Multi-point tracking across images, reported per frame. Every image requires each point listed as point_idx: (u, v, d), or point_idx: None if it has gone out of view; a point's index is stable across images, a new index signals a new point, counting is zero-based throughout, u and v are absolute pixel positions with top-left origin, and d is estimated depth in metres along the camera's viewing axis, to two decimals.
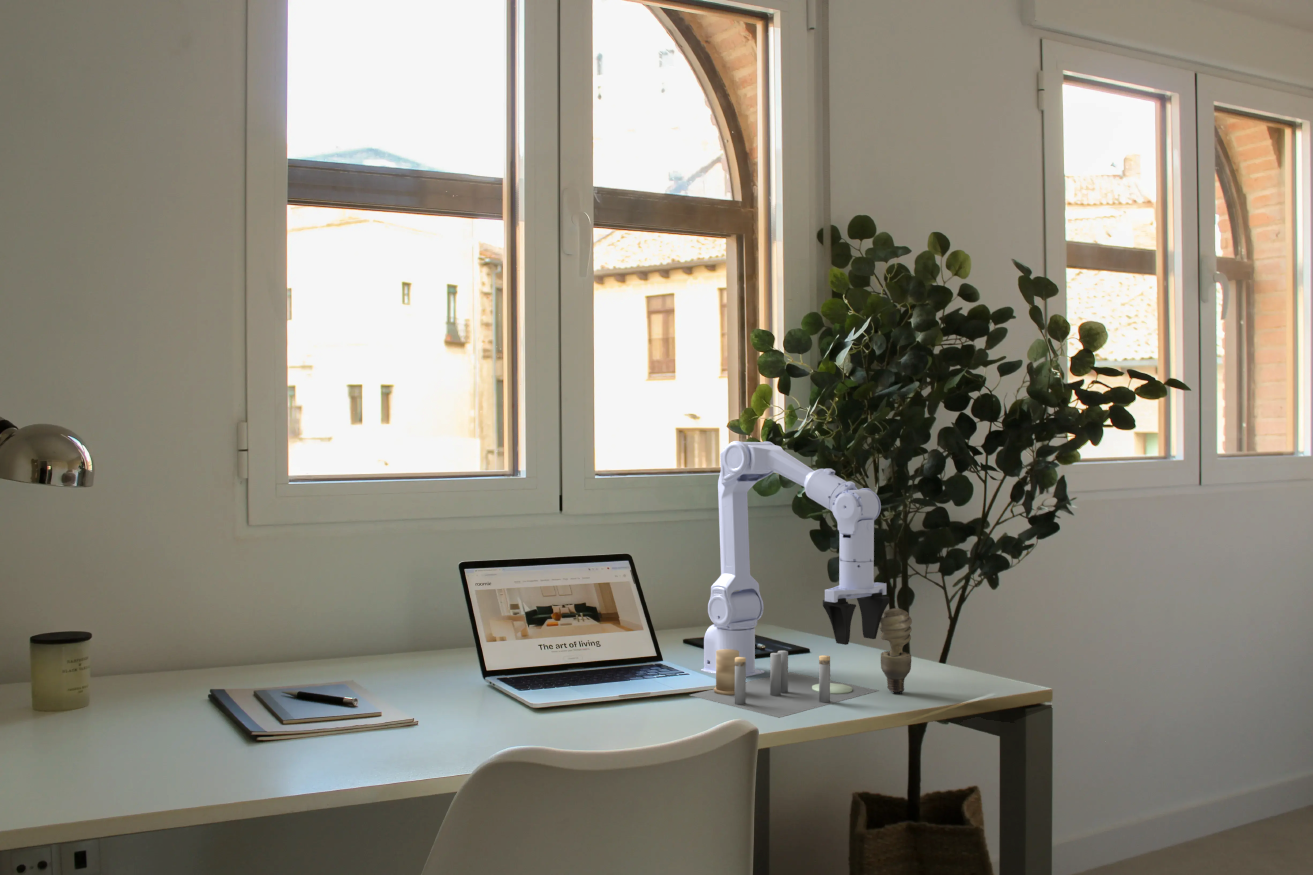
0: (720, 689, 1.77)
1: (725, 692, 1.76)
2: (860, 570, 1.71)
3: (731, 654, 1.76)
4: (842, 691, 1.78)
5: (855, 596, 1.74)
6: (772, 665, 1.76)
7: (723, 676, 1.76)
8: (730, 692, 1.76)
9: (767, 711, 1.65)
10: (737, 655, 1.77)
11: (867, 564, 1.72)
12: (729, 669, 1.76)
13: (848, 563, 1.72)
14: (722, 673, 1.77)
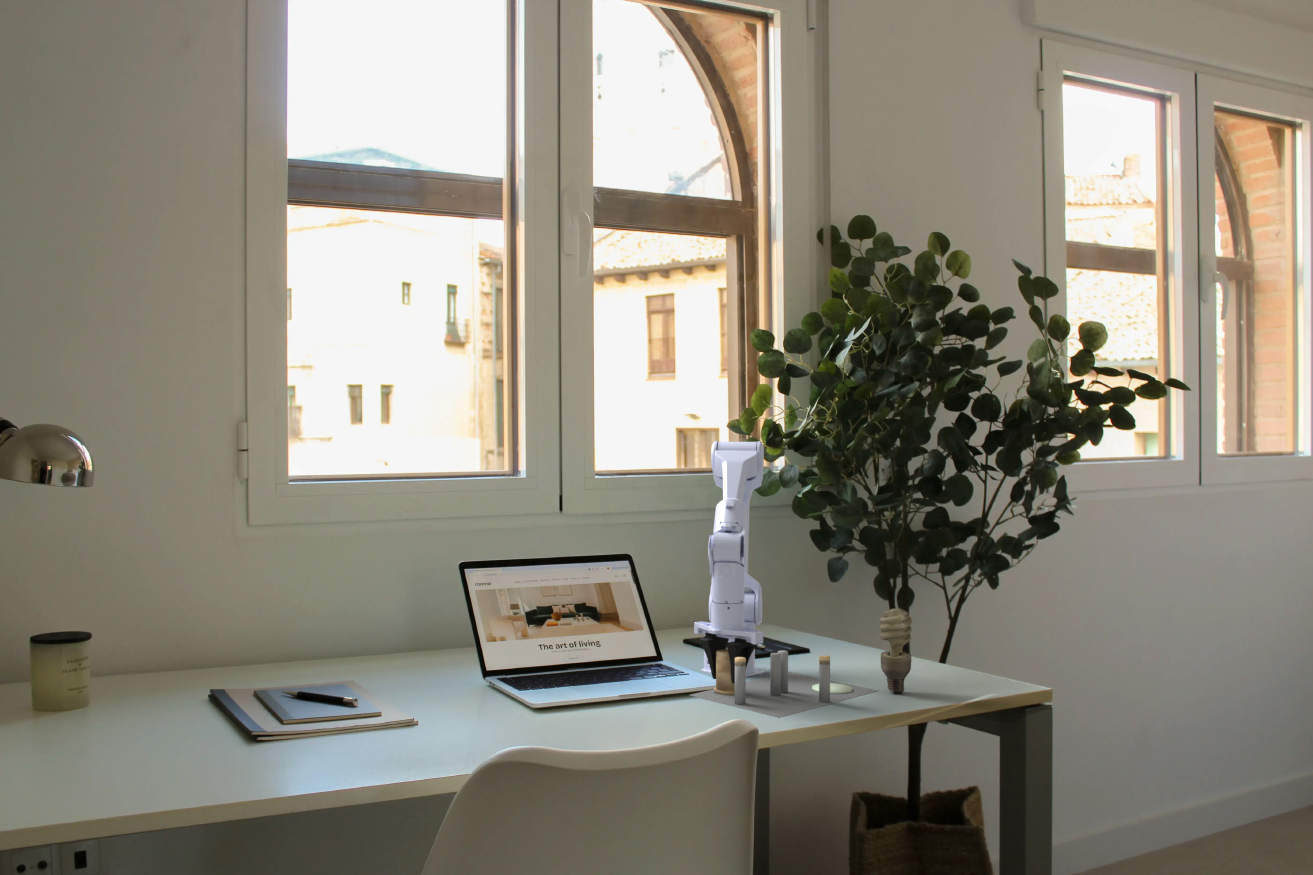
0: (720, 689, 1.77)
1: (725, 692, 1.76)
2: (711, 609, 1.78)
3: None
4: (842, 691, 1.78)
5: (723, 635, 1.79)
6: (772, 665, 1.76)
7: (723, 676, 1.76)
8: (730, 692, 1.76)
9: (767, 711, 1.65)
10: None
11: (714, 605, 1.77)
12: (729, 669, 1.76)
13: (714, 601, 1.80)
14: (722, 673, 1.77)
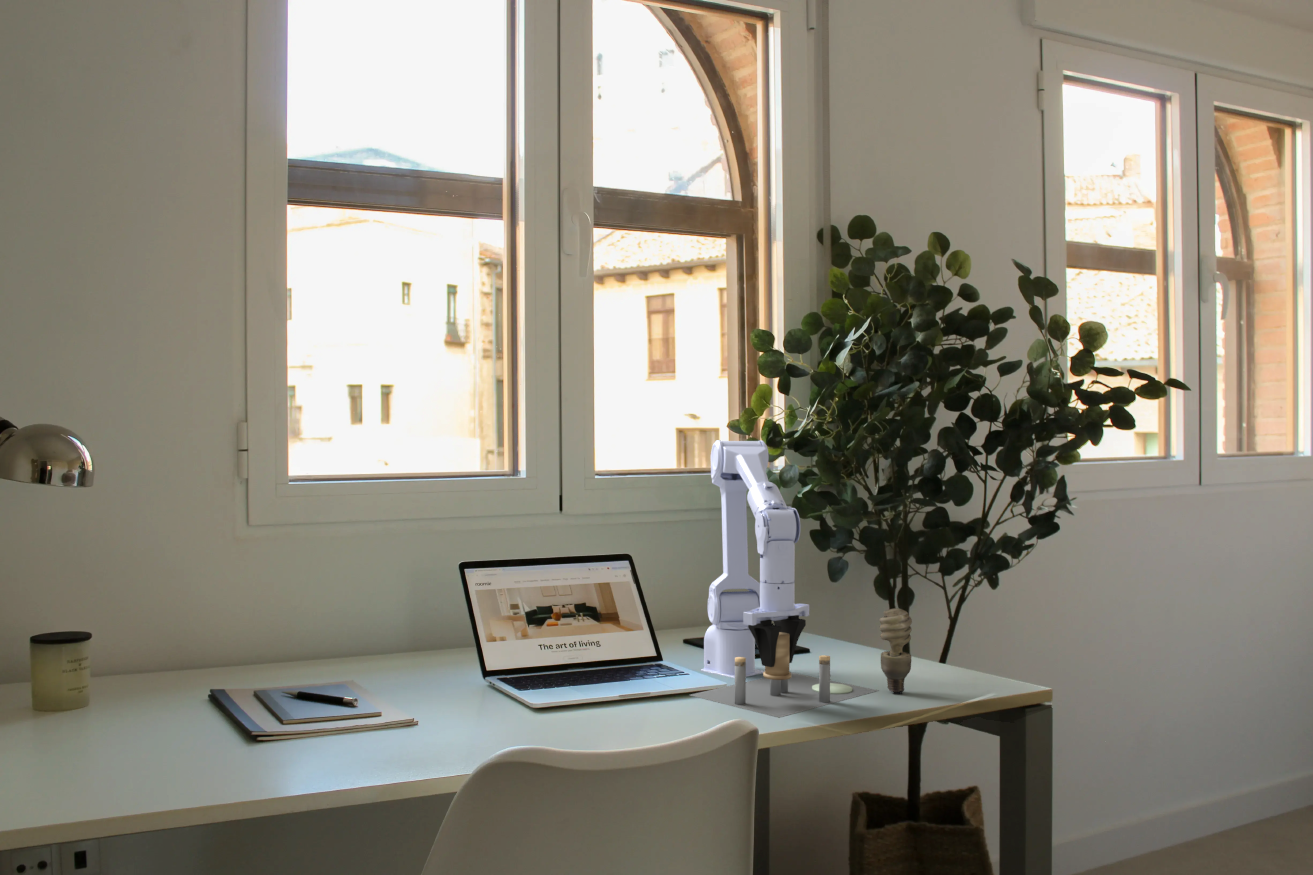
0: (787, 673, 1.69)
1: None
2: (780, 592, 1.68)
3: None
4: (842, 691, 1.78)
5: (775, 618, 1.70)
6: None
7: None
8: (790, 673, 1.71)
9: (767, 711, 1.65)
10: None
11: (787, 586, 1.68)
12: None
13: (768, 585, 1.68)
14: (788, 656, 1.69)
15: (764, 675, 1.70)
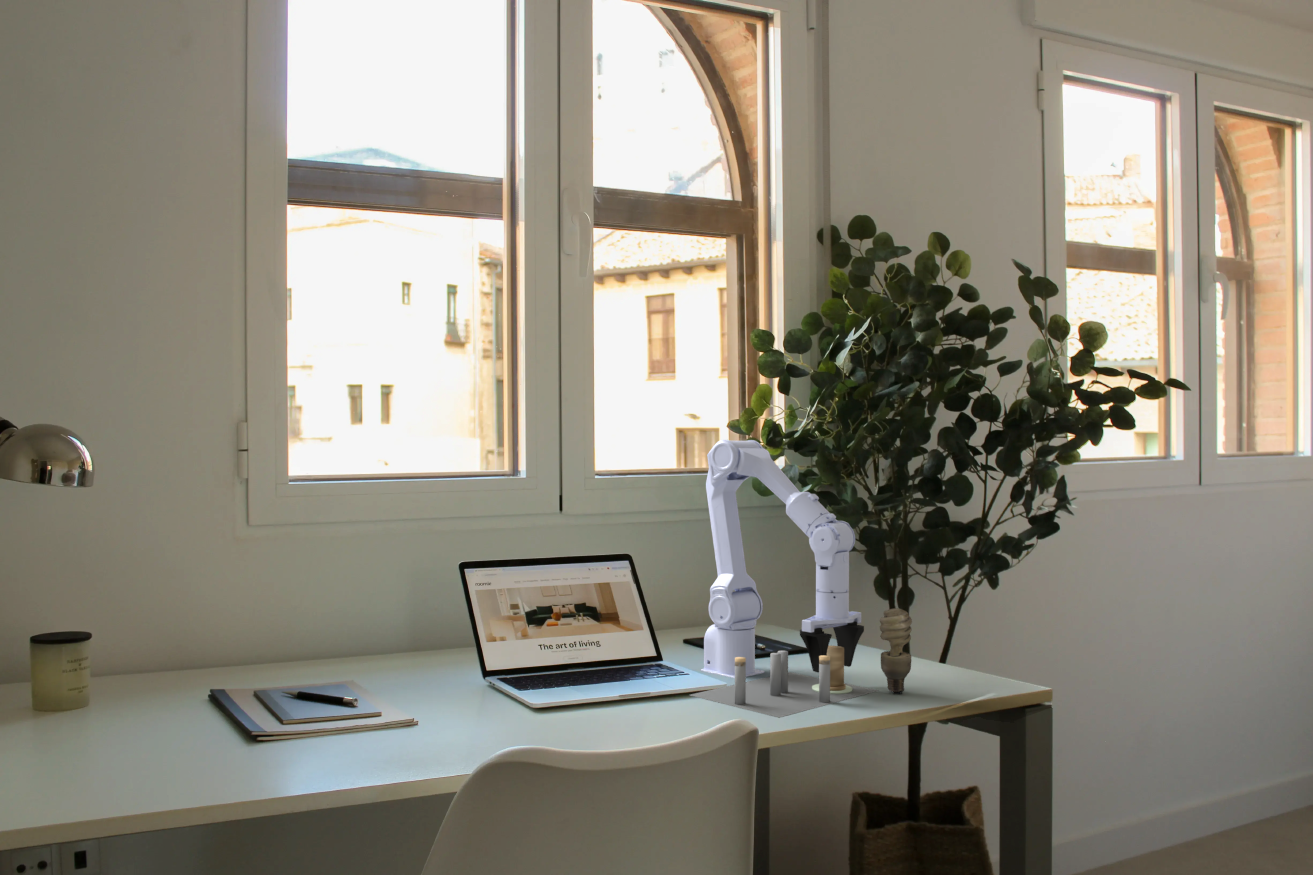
0: (842, 685, 1.79)
1: (845, 686, 1.80)
2: (836, 601, 1.78)
3: None
4: (842, 691, 1.78)
5: (831, 625, 1.80)
6: (772, 665, 1.76)
7: (843, 671, 1.80)
8: None
9: (767, 711, 1.65)
10: None
11: (842, 595, 1.78)
12: None
13: (824, 594, 1.78)
14: (843, 668, 1.79)
15: None
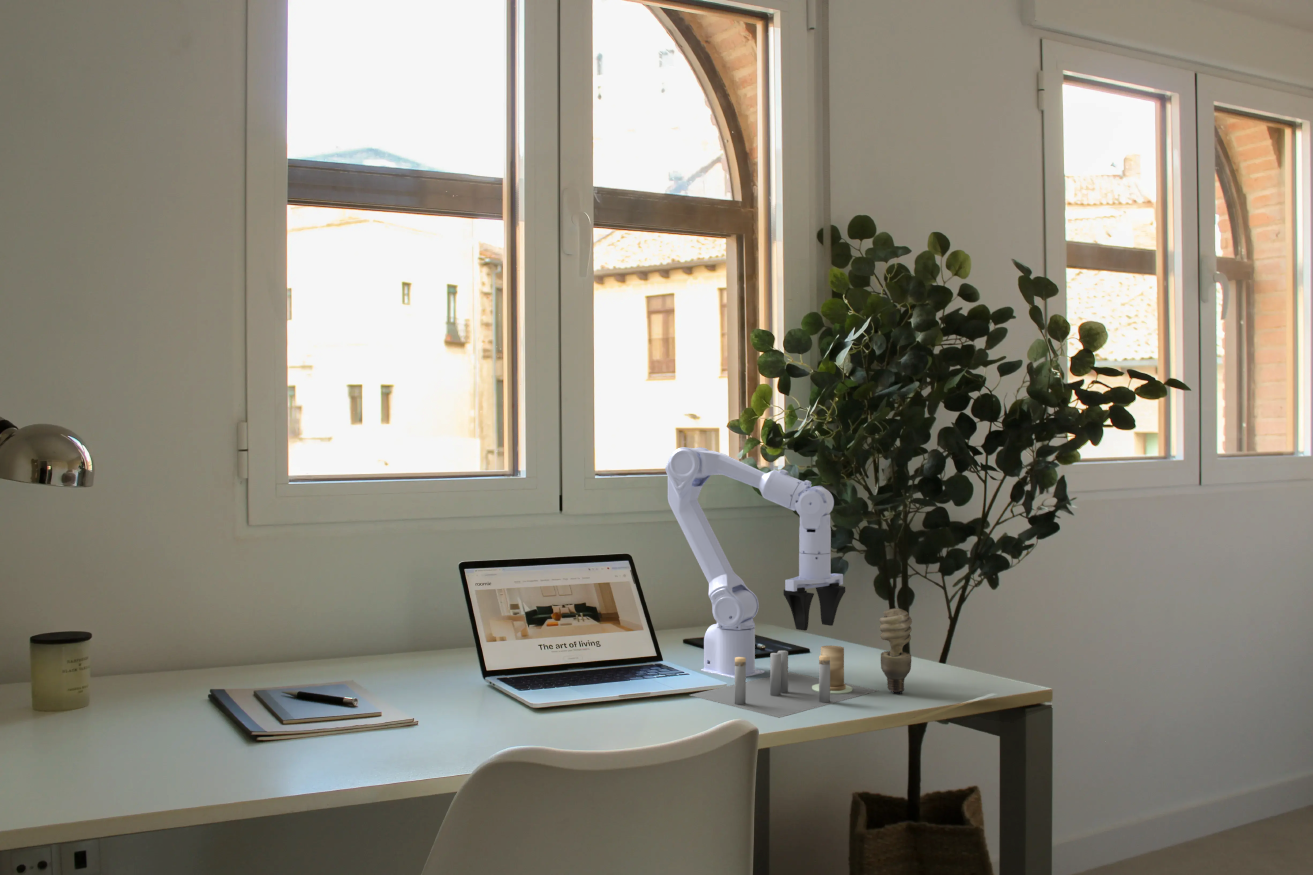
0: (842, 685, 1.79)
1: (845, 685, 1.80)
2: (818, 562, 1.86)
3: None
4: (842, 691, 1.78)
5: (813, 586, 1.88)
6: (772, 665, 1.76)
7: (843, 671, 1.80)
8: None
9: (767, 711, 1.65)
10: None
11: (824, 556, 1.86)
12: None
13: (807, 555, 1.86)
14: (843, 668, 1.79)
15: None
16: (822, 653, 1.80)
